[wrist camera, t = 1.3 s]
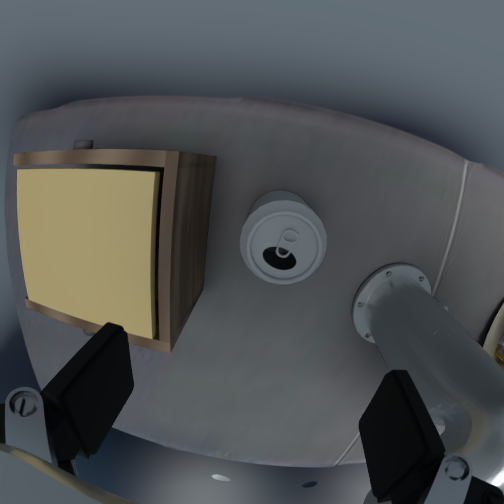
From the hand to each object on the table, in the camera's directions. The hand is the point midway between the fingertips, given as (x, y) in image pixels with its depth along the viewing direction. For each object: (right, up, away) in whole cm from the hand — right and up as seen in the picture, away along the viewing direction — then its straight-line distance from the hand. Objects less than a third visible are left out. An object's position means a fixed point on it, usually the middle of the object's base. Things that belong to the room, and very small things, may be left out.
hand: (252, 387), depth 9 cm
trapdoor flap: (-16, +5, +13) cm, 21 cm away
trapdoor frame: (-15, +9, +26) cm, 31 cm away
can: (+3, +8, +25) cm, 27 cm away
